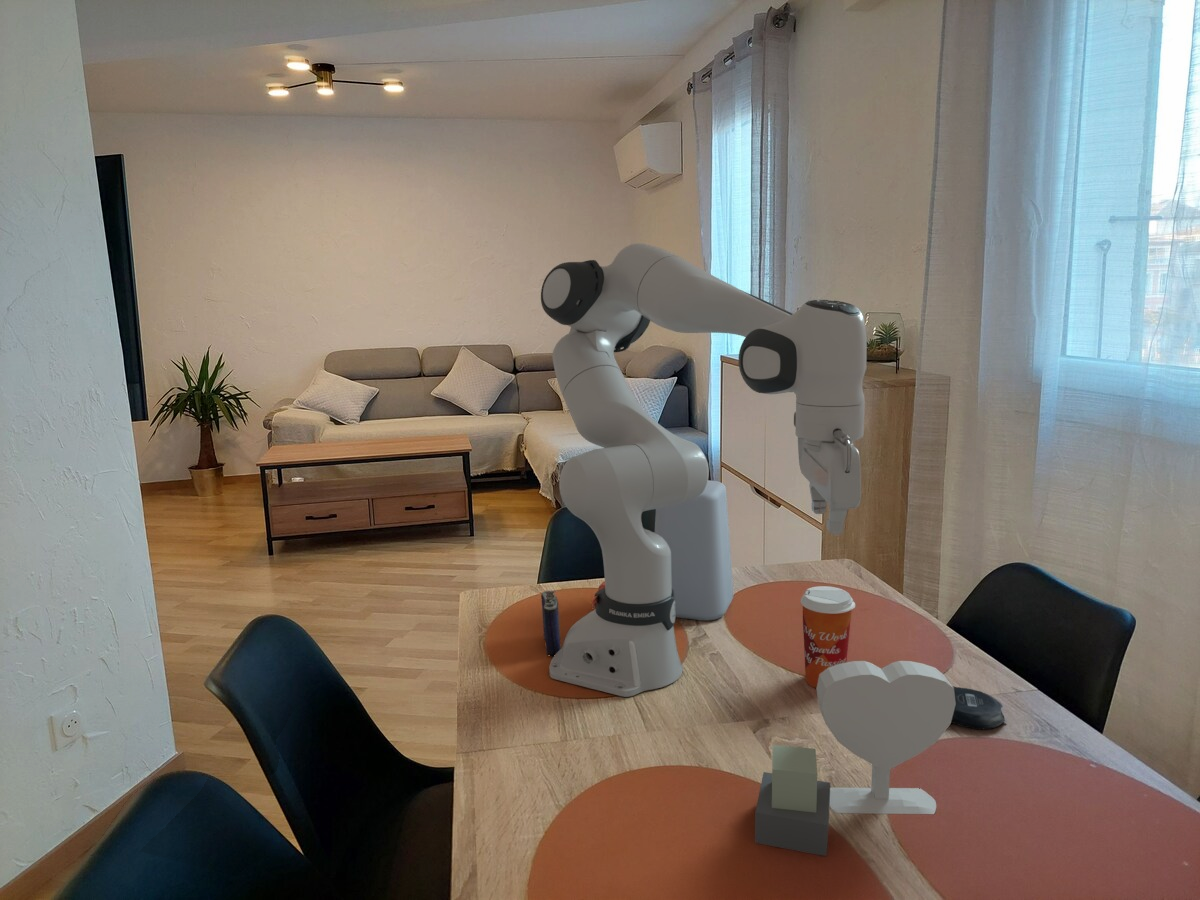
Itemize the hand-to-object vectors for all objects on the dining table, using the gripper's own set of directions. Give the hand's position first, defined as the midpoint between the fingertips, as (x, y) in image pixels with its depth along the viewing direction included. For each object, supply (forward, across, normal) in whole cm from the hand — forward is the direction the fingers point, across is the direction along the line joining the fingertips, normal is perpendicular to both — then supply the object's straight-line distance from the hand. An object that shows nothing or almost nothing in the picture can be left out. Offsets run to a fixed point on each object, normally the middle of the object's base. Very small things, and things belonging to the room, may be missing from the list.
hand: (826, 522), depth 108 cm
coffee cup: (+31, +14, -4) cm, 34 cm away
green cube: (+27, -22, +8) cm, 36 cm away
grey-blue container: (+31, +45, +16) cm, 57 cm away
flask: (+31, +28, +42) cm, 59 cm away
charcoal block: (+31, -22, +8) cm, 39 cm away
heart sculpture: (+31, -16, -4) cm, 36 cm away
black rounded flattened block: (+32, +4, -20) cm, 38 cm away
